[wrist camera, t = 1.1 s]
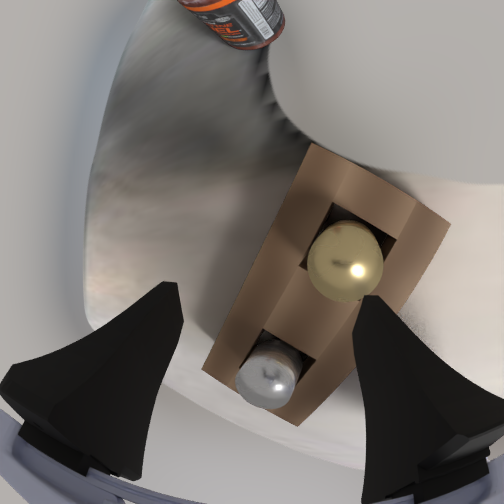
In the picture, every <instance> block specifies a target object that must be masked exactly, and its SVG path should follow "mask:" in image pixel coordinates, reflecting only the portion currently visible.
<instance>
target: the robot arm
mask: <svg viewBox="0 0 504 504" xmlns="http://www.w3.org/2000/svg"><path fill="white" fill-rule="evenodd" d="M183 323H184V319H183V314H182V309H181V303H180V297H179V292H178V286H177V283H175V282H165V281H163V282H161V283H160V284H158V285H157V286H156V287H154V288H153V289H152V290H150V291H149V292H148V293H147V294H145V295H144V296H143V297H142V298H140V299H139V300H138V301H137V302H135V303H134V304H133V305H131V306H130V307H129V308H128V309H126V310H125V311H123V312H122V313H121V314H119V315H118V316H116V317H115V318H114V319H112V320H111V321H110V322H108V323H107V324H105V325H104V326H102V327H101V328H99V329H97V330H96V331H94V332H92V333H91V334H89V335H87V336H86V337H84V338H82V339H80V340H78V341H76V342H74V343H72V344H70V345H68V346H66V347H64V348H62V349H59V350H57V351H54V352H52V353H50V354H47V355H44V356H42V357H39V358H35V359H32V360H28V361H25V362H21V363H17V364H13V365H12V366H11V368H10V369H9V371H8V372H7V374H6V375H5V377H4V379H3V380H2V381H1V383H0V395H1V396H2V398H3V399H4V400H5V401H6V402H7V403H8V404H9V405H10V406H11V407H12V408H13V409H14V410H15V411H16V412H17V413H18V414H19V415H20V416H21V417H22V418H23V419H24V420H25V421H24V423H23V425H21V424H20V423H19V422H17V421H16V420H15V419H14V418H12V417H11V416H10V415H8V414H7V413H5V412H4V411H3V410H1V409H0V475H1V476H2V477H3V478H4V479H5V480H6V481H7V482H8V483H9V484H10V485H11V486H12V487H13V488H14V489H15V490H16V491H17V492H18V493H19V494H20V495H21V496H22V497H23V498H24V499H25V500H26V501H27V502H28V503H29V504H125V502H124V500H123V499H125V500H128V501H130V502H133V503H136V504H205V503H199V502H194V501H189V500H185V499H181V498H176V497H173V496H169V495H165V494H161V493H158V492H154V491H151V490H148V489H145V488H142V487H139V486H136V485H133V484H130V483H127V482H124V481H122V480H119V479H117V478H114V477H112V476H110V474H112V475H114V476H117V477H123V478H126V479H128V480H131V481H136V480H139V479H140V478H141V476H142V466H143V457H144V451H145V445H146V439H147V434H148V429H149V424H150V420H151V415H152V411H153V408H154V404H155V400H156V396H157V393H158V390H159V388H160V385H161V383H162V380H163V378H164V375H165V373H166V371H167V368H168V366H169V363H170V361H171V359H172V356H173V354H174V351H175V349H176V347H177V344H178V341H179V338H180V334H181V330H182V326H183ZM352 340H353V350H354V358H355V362H356V367H357V372H358V376H359V381H360V386H361V390H362V395H363V400H364V407H365V419H366V463H365V476H364V485H363V493H362V498H361V503H362V504H504V454H502V455H500V456H498V457H497V458H495V459H493V460H487V458H488V456H489V455H490V450H489V446H491V445H492V444H493V443H494V442H496V441H497V440H498V439H499V438H501V437H502V436H503V435H504V399H502V398H500V397H498V396H496V395H494V394H492V393H490V392H488V391H486V390H484V389H483V388H481V387H479V386H478V385H476V384H474V383H473V382H471V381H470V380H468V379H467V378H465V377H464V376H462V375H461V374H460V373H458V372H457V371H455V370H454V369H453V368H451V367H450V366H449V365H448V364H446V363H445V362H444V361H443V360H442V359H440V358H439V357H438V356H437V355H436V354H435V353H434V352H432V351H431V350H430V349H429V348H428V347H427V346H426V345H425V344H424V343H423V342H422V341H421V340H420V339H419V338H418V337H417V336H416V335H415V334H414V333H413V332H412V331H411V330H410V329H409V328H408V327H407V325H406V324H405V323H404V322H403V321H402V320H401V319H400V318H399V317H398V316H397V315H396V313H395V312H394V311H393V310H392V309H391V308H390V307H389V306H388V305H387V304H386V303H385V302H384V300H383V299H382V298H381V297H380V296H378V295H364V297H363V300H362V304H361V307H360V310H359V313H358V316H357V319H356V322H355V325H354V328H353V331H352Z"/></svg>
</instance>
